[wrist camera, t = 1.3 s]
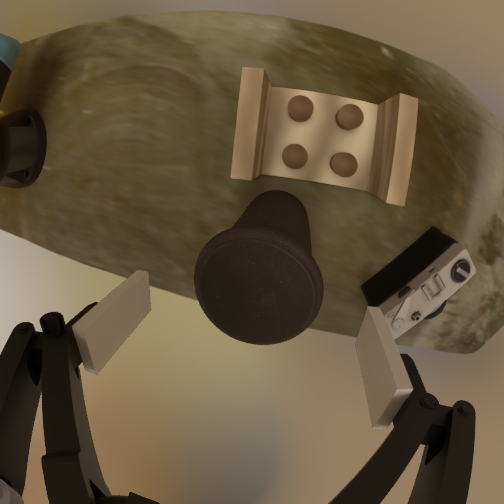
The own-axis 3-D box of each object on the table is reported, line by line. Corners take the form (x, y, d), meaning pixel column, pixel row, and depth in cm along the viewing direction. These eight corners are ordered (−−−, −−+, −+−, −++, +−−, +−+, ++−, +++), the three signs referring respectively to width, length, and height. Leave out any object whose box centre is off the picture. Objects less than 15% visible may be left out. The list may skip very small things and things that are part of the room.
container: (258, 264, 39) (223, 364, 20) (232, 202, 36) (165, 257, 18) (319, 243, 36) (339, 337, 18) (295, 178, 34) (296, 209, 16)
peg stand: (234, 170, 35) (215, 176, 26) (243, 86, 31) (227, 66, 23) (389, 195, 33) (416, 209, 24) (401, 112, 29) (431, 103, 21)
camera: (380, 322, 39) (397, 363, 30) (354, 275, 38) (368, 311, 28) (454, 274, 35) (487, 303, 25) (434, 223, 33) (470, 243, 24)
